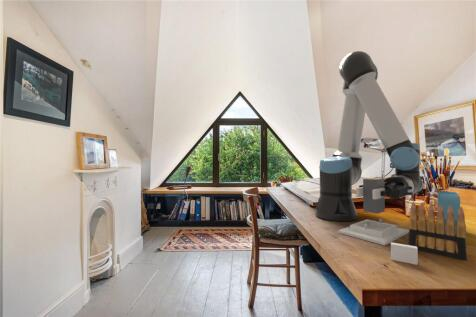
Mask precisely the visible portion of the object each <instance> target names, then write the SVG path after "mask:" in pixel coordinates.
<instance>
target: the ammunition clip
mask: <svg viewBox="0 0 476 317" xmlns="http://www.w3.org/2000/svg"><path fill="white" fill-rule="evenodd" d="M427 209H428V210H427V218H426V209H425V204H424V202H421V203H420V205H419V208H418V217H417V206H416V203H415V202H414V201H412V203H411V205H410V214H409V222H408V223H409V224H408V226H409V229H408V230H409V233H408V245H410V246H416V247H417V248H418V252H422V251H423V252H422V253H426V252H427V254H432V255H436V256H441V257H445V258H450V259H455V260H460V261H465V262H467V260H468V258H467V225H466V219H465V211H464V208H463V207H462V206H460V208H459V210H458V216H457V224H456V235H455V222H454V212H453V208H452V206H449V208H448V212H447V221H446V233H445V222H444V212H443V208H442V205H439V207H438V206H437V211H436V218H435V209H434V206H433V204H432V203H430V204H429V206H428V208H427ZM435 219H436V220H435Z"/></svg>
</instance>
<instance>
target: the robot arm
mask: <svg viewBox="0 0 476 317" xmlns="http://www.w3.org/2000/svg"><path fill="white" fill-rule="evenodd" d="M338 68H339V70H338V71H339V75H340V77H341V79H343V87H342V93H343V94H344V96H345V98H344V104H343V105H344V106H343V111H342V119H341V122H340V123H341V124H340V131H339V135H338V136H339V138H338V143H337V150H335V152H333V154H332V156H329V157H328V156H327V157H322V158H321V159H320V160H319V167H318V168H319V197H318V201H317V203H316V205H315V209H314V211H315V212H314V213H315V214H314V215H315V216H316V217H318V218H320V219H323V220H326V221H333V222H334V221H335V222H336V221H337V222H352V221H356V220H357V219H358V212H357V209H356V206H355V204H354V200H353V193H352V192H353V189H352V188H353V185H355V184H356V183H358V182H359V181H360V179H361V178H362V173H363V170H362V167H361V166H362V159H363V156H361V154H360V147H361V142H362V134H363V128H364V123H365V116H367V117H368V119H369V121H370V123H371V125H372V128H373V129H374V131H375V133H376V135H377V136H378V138H379V139H380V142H381V143H382V145H383V147H384V149H385V151H386V153H387V155H388V158H389V161H390V163H391V165H392V166H393V168H395V170H394V174H395V175H394V176H389V177H386V178H384V188H379V189H374V190H372V194H373V199H379V198H383V197H385V198H386V197H387V198H389V199H394V200H395V199H402V198H405V197H408V196H411V195H415V194H418V193H419V192H421V190H422V189H424V188H423V187H424V181H423V179H422V178H421V174H420V159H421V158H420V157H421V156H420V153H421V150H420V144H419V143H416V142H411V140H410V138H409V135H408V134H407V133H406V131H405V129H404V127H403V126H402V124H401V121H400V120H399V118H398V117H397V115H396V113H395V111H394V109H393V108H392V106H391V104H390V103H389V101H388V99H387V97H386V95H385V94H384V92H383V90H382V88H381V87H380V84H379V83H378V81H377V80H378V77H379V76H378V75H379V71H378V67H377V65H375V63H374V62H373V59H372V57H371V56H370V55H369V54H368V53H367V52H365V51H361V50H360V51H359V50H358V51H353V52H350V53H348V54H347V55H346V56H344V58H342V60H341V62H340V64H339V67H338ZM355 197H356V198H363V184H361V185H358V187H356V188H355Z"/></svg>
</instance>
